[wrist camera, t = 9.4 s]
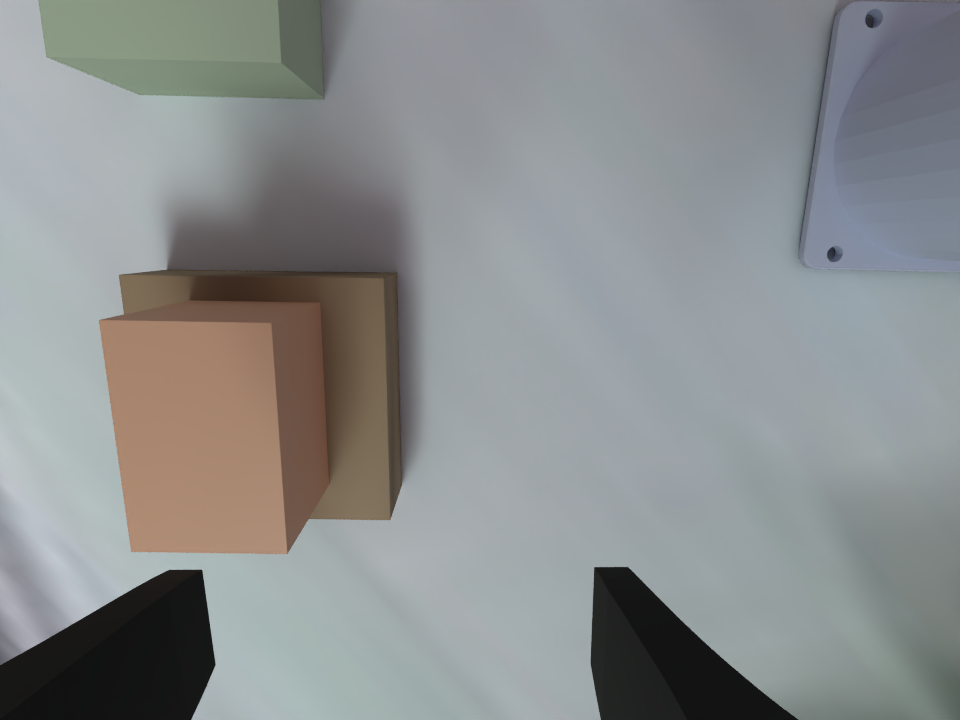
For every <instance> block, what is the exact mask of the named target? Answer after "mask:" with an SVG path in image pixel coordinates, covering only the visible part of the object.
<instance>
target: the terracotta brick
mask: <svg viewBox="0 0 960 720" xmlns="http://www.w3.org/2000/svg"><path fill="white" fill-rule="evenodd" d="M99 324H100V331H101V338H102V345H103V353H104V360H105V367H106V374H107V381H108V388H109V396H110V403H111V410H112V417H113V424H114V431H115V439H116V446H117V453H118V460H119V467H120V474H121V482H122V489H123V496H124V503H125V510H126V517H127V524H128V532H129V539H130V546H131V552H185V553H255V554H288V552H289V550H290V549H291V547H292V545H293V544H294V542H295V540H296V539H297V537H298V535H299V534H300V532H301V530H302V529H303V527H304V525H305V524H306V522H307V521H308V519H309V517H310V516H311V514H312V512H313V511H314V509H315V507H316V506H317V504H318V502H319V501H320V499H321V497H322V496H323V494H324V492H325V491H326V489H327V487H328V486H329V472H328V451H327V430H326V410H325V389H324V368H323V348H322V327H321V307H320V303H318V302H257V301H195V300H188V301H184V302H179V303H174V304H170V305H165V306H161V307H156V308H152V309H147V310H143V311H138V312H134V313H129V314H125V315H120V316H116V317H111V318H106V319H102V320H99Z"/></svg>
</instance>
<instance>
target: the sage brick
mask: <svg viewBox="0 0 960 720" xmlns="http://www.w3.org/2000/svg"><path fill="white" fill-rule="evenodd" d="M39 7H40V14H41V22H42V29H43V36H44V43H45V50H46V57H48V58H50V59H52V60H55V61H57V62H60V63H62V64H65V65H67V66H70V67H72V68H75V69H77V70H79V71H82V72H84V73H87V74H89V75H92V76H94V77H97V78H99V79H102V80H104V81H107V82H109V83H111V84H114V85H116V86H119V87H121V88H124V89H126V90H129V91H131V92H134V93H136V94H138V95H164V96H205V97H246V98H288V99H324V79H323V52H322V25H321V0H39Z"/></svg>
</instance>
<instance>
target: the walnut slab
mask: <svg viewBox="0 0 960 720" xmlns="http://www.w3.org/2000/svg"><path fill="white" fill-rule="evenodd" d="M119 279H120V286H121V294H122V301H123V309H124V315H125V314H129V313H134V312H138V311H143V310H147V309H152V308H156V307H161V306H165V305H170V304H174V303H179V302H184V301H188V300H195V301H257V302H318V303H320V307H321V327H322V348H323V368H324V389H325V410H326V430H327V451H328V472H329V486H328V487H327V489H326V491H325V492H324V494H323V496H322V497H321V499H320V501H319V502H318V504H317V506H316V507H315V509H314V511H313V512H312V514H311V516H310V517H309V519H351V520H390V519H391V516H392V513H393V510H394V507H395V504H396V501H397V498H398V495H399V492H400V489H401V486H402V483H401V436H400V389H399V342H398V295H397V273H374V272H296V271H219V270H161V271H151V272H142V273H132V274H123V275H119Z"/></svg>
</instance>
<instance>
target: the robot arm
mask: <svg viewBox="0 0 960 720" xmlns="http://www.w3.org/2000/svg"><path fill="white" fill-rule="evenodd" d="M867 14H869V15H871V16H872V18H873V20H874V24H873V27H872V28H870V27H868V26H867V25H866V23H865V18H866V15H867ZM831 247H833V248H834V249H835V256H834V258H833V259H832V260H831V261H829V260H828V258H827V252H828V250H829V249H830V248H831ZM799 260H800V262H801V264H803V265H804V266H805V267H808V268H813V269H843V270H884V271H924V272H960V3H949V2H908V1H866V0H859V1H853V2H851V3H850V4H848V5H847V6H845V7H844V8H842V9H840V11H839V12H838V13H837V15H836V17H835V20H834V24H833V31H832V37H831V44H830V51H829V57H828V64H827V70H826V77H825V84H824V90H823V97H822V103H821V110H820V117H819V123H818V130H817V136H816V143H815V150H814V156H813V163H812V169H811V176H810V183H809V189H808V196H807V202H806V209H805V216H804V222H803V229H802V235H801V242H800V249H799ZM214 667H215V658H214V651H213V644H212V637H211V630H210V622H209V615H208V608H207V601H206V594H205V587H204V580H203V572H202V570H168V571H166V572H164V573H162V574H160V575H158V576H156V577H154V578H152V579H150V580H148V581H147V582H145V583H143V584H141V585H139V586H138V587H136V588H134V589H132V590H131V591H129V592H127V593H125V594H124V595H122V596H120V597H118V598H117V599H115V600H113V601H112V602H110V603H108V604H106V605H105V606H103V607H101V608H100V609H98V610H96V611H95V612H93V613H91V614H89V615H88V616H86V617H84V618H83V619H81V620H79V621H77V622H76V623H74V624H72V625H71V626H69V627H67V628H65V629H64V630H62V631H60V632H59V633H57V634H55V635H54V636H52V637H50V638H48V639H47V640H45V641H43V642H41V643H40V644H38V645H36V646H34V647H32V648H31V649H29V650H27V651H25V652H23V653H22V654H20V655H18V656H16V657H14V658H13V659H11V660H9V661H7V662H5V663H3V664H2V665H0V720H191V719H192V717H193V714H194V712H195V710H196V708H197V706H198V704H199V702H200V699H201V697H202V695H203V693H204V690H205V688H206V686H207V683H208V681H209V679H210V676H211V674H212V672H213V670H214ZM591 668H592V674H593V679H594V685H595V691H596V696H597V701H598V707H599V712H600V717H601V720H798V719H797V718H795V717H794V716H793V715H791V714H790V713H789V712H787V711H786V710H785V709H783V708H782V707H780V706H779V705H778V704H777V703H775V702H774V701H773V700H772V699H770V698H769V697H768V696H766V695H765V694H764V693H763V692H761V691H760V690H759V689H758V688H757V687H755V686H754V685H753V684H752V683H751V682H749V681H748V680H747V679H746V678H745V677H744V676H742V675H741V674H740V673H739V672H738V671H736V670H735V669H734V668H733V667H732V666H730V665H729V664H728V663H727V662H726V661H725V660H723V659H722V658H721V657H720V656H719V655H718V654H717V653H716V652H715V651H713V650H712V649H711V648H710V647H709V646H708V645H707V644H706V643H705V642H703V641H702V640H701V639H700V638H699V637H698V636H697V635H696V634H695V633H694V632H693V631H692V630H691V629H690V628H689V627H687V626H686V625H685V624H684V623H683V622H682V621H681V620H680V619H679V618H678V617H677V616H676V615H675V614H674V613H673V612H672V611H671V610H670V609H669V608H668V607H667V606H666V605H665V604H664V603H663V602H662V601H661V600H660V599H659V598H658V597H657V596H656V595H655V594H654V593H653V592H652V591H651V590H650V589H649V588H648V587H647V586H646V585H645V584H644V583H643V582H642V581H641V580H640V579H639V578H638V577H637V576H636V575H635V574H634V573H633V572H632V571H631V570H630V569H629V568H628V567H594V592H593V617H592V642H591Z"/></svg>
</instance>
